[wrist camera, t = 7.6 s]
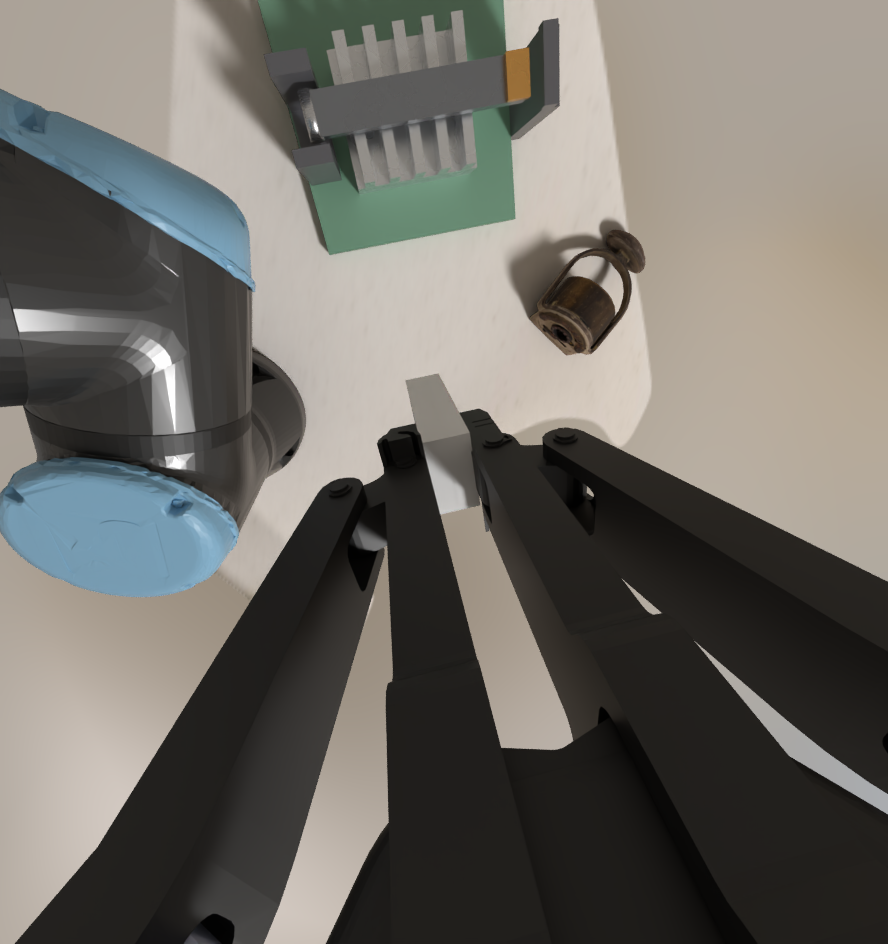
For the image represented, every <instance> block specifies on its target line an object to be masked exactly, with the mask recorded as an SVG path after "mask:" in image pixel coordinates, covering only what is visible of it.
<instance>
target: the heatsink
mask: <svg viewBox="0 0 888 944" xmlns="http://www.w3.org/2000/svg"><path fill="white" fill-rule="evenodd" d="M331 32H332V37H333V42H334V47H335V49H330V50H326V51H327V55H328V59H329V64H330V68H331V72H332V77H333V81H334V85H340V84H345V83H351V82H356V81H362V80H367V79H373V78H378V77H384V76H389V75H395V74H400V73H406V72H411V71H417V70H422V69H428V68H433V67H439V66H444V65H450V64H455V63H461V62H466V61H467V52H466V41H465V31H464V20H463V10H459V11H453V12H451V13H450V16H449V19H448V23H447V26H446V29H445V31H439V32H435V26H434V18H433V15H429V16H422V17H421V21H420V26H419V32H418V35H415V36H409V37H406V33H405V26H404V20H398V21H392V23H391V38H390V40H384V41H378V42H377V40H376V35H375V29H374V24H373V25H367V26H362V41H363V44H360V45H354V46H348V47H347V44H346V39H345V34H344V29H343V30H336V31H331ZM346 138H347V142H348V147H349V151H350V155H351V160H352V164H353V169H354V173H355V177H356V182H357V186H358V190H359V194H365V193H371V192H376V191H381V190H387V189H392V188H398V187H403V186H408V185H414V184H419V183H425V182H430V181H435V180H441V179H446V178H451V177H457V176H462V175H468V174H470V173H471V172H473V171H474V170H475V169H476V168H477V159H476V148H475V137H474V127H473V116H472V112H471V113H466V114H460V115H455V116H450V117H444V118H439V119H434V120H428V121H423V122H417V123H412V124H407V125H401V126H396V127H390V128H385V129H380V130H374V131H369V132H363V133H358V134H353V135H347V136H346Z"/></svg>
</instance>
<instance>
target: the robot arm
mask: <svg viewBox="0 0 888 944" xmlns="http://www.w3.org/2000/svg"><path fill="white" fill-rule="evenodd" d="M252 292H255V282H254V281H253V280H252V278H251V260H250V238H249V230H248V225H247V222H246V220H245V218H244V216H243V214H242V212H241V211H240V209H239V208H238V207H237V205H236V204H235V203H234V202H233V201H232V200H231V199H230V198H229V197H228V196H227V195H225V194H224V193H223V192H222V191H220V190H219V189H217V188H216V187H214V186H213V185H211V184H210V183H208V182H206V181H205V180H203V179H201V178H199V177H197V176H196V175H194V174H192V173H190V172H188V171H186V170H184V169H182V168H180V167H178V166H176V165H174V164H173V163H171V162H168V161H166V160H164V159H162V158H160V157H158V156H156V155H154V154H152V153H150V152H147V151H146V150H143V149H141V148H139V147H137V146H135V145H133V144H131V143H128V142H126V141H124V140H122V139H120V138H117V137H115V136H113V135H111V134H109V133H106V132H104V131H102V130H99V129H97V128H95V127H93V126H90V125H88V124H86V123H83V122H81V121H78V120H76V119H74V118H71V117H69V116H66V115H64V114H61V113H59V112H51V111H46V110H45V109H43V108H42V107H41V106H39V105H36V104H34V103H31V102H28V101H25V100H22V99H20V98H18V97H16V96H14V95H12V94H10V93H8V92H6V91H4V90H1V89H0V407H7V406H20V405H23V407H24V410H25V414H26V417H27V421H28V424H29V428H30V431H31V435H32V438H33V442H34V445H35V449H36V452H37V462H35V463H33V464H31V465H29V466H27V467H24V468H22V469H20V470H19V471H17V472H16V473H15V474H13V476H12V478H11V480H10V482H9V483H8V486H6V487H5V488H4V489H3V491H2V492H1V493H0V532H1V534H2V535H3V537H4V538H5V540H6V541H7V542H8V544H9V545H10V546H11V547H12V548H13V550H15V551H16V552H17V553H18V554H19V555H20V556H21V557H23V558H24V559H25V560H27V562H29V563H30V564H32V565H33V566H35V567H36V568H38V569H40V570H42V571H43V572H45V573H47V574H48V575H50V576H52V577H55V578H58V579H62V580H64V581H66V582H68V583H70V584H72V585H74V586H77V587H80V588H83V589H87V590H90V591H95V592H99V593H104V594H110V595H118V596H128V597H153V596H162V595H169V594H173V593H177V592H181V591H184V590H186V589H189V588H191V587H193V586H195V584H197V583H200V582H202V581H205V580H206V579H208V578H209V577H210V576H211V575H212V574H213V573H214V572H216V570H217V569H218V568H219V567H220V565H221V564H222V562H223V561H224V559H225V558H226V556H227V554H228V553H229V552H230V551H231V550H232V549H233V547H234V546H235V545H236V543H237V539H238V536H239V532H240V530H241V528H242V526H243V524H244V522H245V520H246V517H247V515H248V513H249V511H250V509H251V507H252V505H253V503H254V501H255V499H256V497H257V495H258V493H259V491H260V488H261V486H262V484H263V482H264V480H265V479H266V478H267V477H269V476H271V475H272V474H274V473H276V472H277V471H279V470H280V469H282V468H283V467H284V466H285V465H287V464H288V463H289V462H290V460H291V459H292V458H293V457H294V455H295V454H296V452H297V450H298V448H299V446H300V444H301V441H302V439H303V436H304V432H305V427H306V414H305V408H304V404H303V401H302V398H301V396H300V394H299V392H298V390H297V388H296V387H295V385H294V384H293V382H292V381H291V379H290V378H289V377H288V376H287V375H286V374H285V373H284V372H283V371H282V370H281V369H280V368H279V367H278V366H277V365H276V364H274V363H273V362H272V361H270V360H269V359H267V358H266V357H264V356H262V355H260V354H258V353H256V352H254V351H252ZM406 384H407V389H408V393H409V398H410V402H411V407H412V411H413V416H414V420H415V424H411V425H406V426H402V427H397V428H393V429H390V430H389V432H388V433H387V434H386V435H384V436H383V437H382V438H380V439H379V440H378V443H377V446H378V449H379V453H380V456H381V459H382V463H383V466H384V474H383V475H382V476H381V477H380V478H378V479H377V480H375V481H373V482H371V483H369V484H366V485H364V486H363V484H362V482H361V481H360V480H359V479H356V478H343V479H337V480H336V481H335V480H334V481H332V482H330V483H329V484H327V485H326V486H324V487H323V488H322V489H321V490H320V491H319V492H318V494H317V496H316V497H315V499H314V501H313V502H312V504H311V505H310V507H309V509H308V510H307V512H306V513H305V515H304V517H303V518H302V520H301V521H300V523H299V525H298V526H297V528H296V529H295V531H294V533H293V534H292V536H291V537H290V539H289V541H288V542H287V544H286V545H285V547H284V549H283V550H282V552H281V553H280V555H279V557H278V558H277V560H276V562H275V563H274V565H273V566H272V568H271V570H270V571H269V573H268V574H267V576H266V578H265V579H264V581H263V582H262V584H261V586H260V587H259V589H258V590H257V592H256V594H255V595H254V597H253V598H252V600H251V602H250V603H249V605H248V607H247V608H246V610H245V611H244V613H243V615H242V616H241V618H240V620H239V621H238V623H237V624H236V626H235V628H234V629H233V631H232V632H231V634H230V635H229V637H228V639H227V640H226V642H225V643H224V645H223V647H222V648H221V650H220V651H219V653H218V655H217V656H216V658H215V659H214V661H213V663H212V664H211V666H210V668H209V669H208V671H207V672H206V674H205V676H204V677H203V679H202V680H201V682H200V684H199V685H198V687H197V689H196V690H195V692H194V693H193V695H192V696H191V698H190V700H189V701H188V703H187V704H186V706H185V708H184V709H183V711H182V712H181V714H180V716H179V717H178V719H177V720H176V722H175V724H174V725H173V727H172V729H171V730H170V732H169V733H168V735H167V737H166V738H165V740H164V741H163V743H162V745H161V746H160V748H159V749H158V751H157V753H156V754H155V756H154V758H153V759H152V761H151V762H150V764H149V765H148V767H147V769H146V770H145V772H144V773H143V775H142V777H141V778H140V780H139V782H138V783H137V785H136V787H135V788H134V790H133V791H132V793H131V794H130V796H129V798H128V799H127V801H126V802H125V804H124V806H123V807H122V809H121V810H120V812H119V814H118V815H117V817H116V819H115V820H114V822H113V823H112V825H111V826H110V828H109V830H108V831H107V833H106V835H105V836H104V838H103V839H102V841H101V843H100V844H99V846H98V847H97V849H96V850H95V851H94V852H93V853H92V854H91V855H90V857H89V858H88V859H87V860H86V861H85V862H84V864H83V865H82V866H81V867H80V868H79V869H78V871H77V872H76V873H75V874H74V875H73V876H72V878H71V879H70V880H69V881H68V882H67V883H66V885H65V886H64V887H63V888H62V889H61V890H60V892H59V893H58V894H57V895H56V896H55V897H54V899H53V900H52V901H51V902H50V903H49V904H48V906H47V907H46V908H45V909H44V910H43V911H42V912H41V914H40V915H39V916H38V917H37V918H36V919H35V921H34V922H33V923H32V924H31V926H29V928H28V929H27V930H26V931H25V932H24V934H23V935H22V936H21V937H20V938H19V939H18V940H17V942H16V943H15V944H264V941H265V939H266V937H267V934H268V932H269V929H270V927H271V924H272V922H273V919H274V917H275V915H276V912H277V910H278V907H279V905H280V902H281V899H282V896H283V893H284V890H285V887H286V884H287V881H288V878H289V875H290V872H291V869H292V866H293V862H294V860H295V856H296V853H297V850H298V846H299V843H300V840H301V836H302V832H303V829H304V826H305V823H306V819H307V816H308V812H309V809H310V805H311V802H312V799H313V795H314V792H315V789H316V785H317V782H318V779H319V775H320V772H321V768H322V765H323V761H324V758H325V755H326V751H327V748H328V744H329V741H330V738H331V734H332V731H333V728H334V724H335V721H336V717H337V714H338V710H339V707H340V704H341V700H342V697H343V694H344V690H345V687H346V683H347V680H348V677H349V673H350V670H351V666H352V663H353V660H354V656H355V653H356V650H357V646H358V643H359V639H360V636H361V633H362V629H363V626H364V622H365V619H366V616H367V612H368V609H369V605H370V602H371V599H372V595H373V592H374V588H375V585H376V582H377V578H378V575H379V571H380V567H381V565H382V561H383V558H384V547H385V546H387V548H388V570H389V592H390V614H391V637H392V657H393V658H392V659H393V679H392V682H390V683H388V685H387V690H386V732H387V770H388V771H387V772H388V808H389V809H388V812H389V823H388V824H387V826H386V827H385V828H384V830H383V831H382V832H381V834H380V835H379V837H378V839H377V840H376V842H375V844H374V845H373V847H372V849H371V850H370V852H369V854H368V856H367V858H366V860H365V862H364V864H363V866H362V868H361V870H360V872H359V875H358V876H357V879H356V881H355V883H354V885H353V887H352V889H351V891H350V894H349V896H348V898H347V900H346V902H345V904H344V906H343V908H342V910H341V913H340V915H339V917H338V919H337V921H336V923H335V925H334V928H333V930H332V932H331V935H330V936H329V938H328V940H327V943H326V944H888V814H886V813H884V812H883V811H881V810H879V809H878V808H876V807H874V806H873V805H871V804H869V803H867V802H866V801H864V800H862V799H861V798H859V797H857V796H856V795H854V794H852V793H851V792H849V791H847V790H845V789H844V788H842V787H840V786H839V785H837V784H835V783H833V782H832V781H830V780H828V779H827V778H825V777H823V776H822V775H820V774H818V773H817V772H815V771H813V770H812V769H810V768H808V767H807V766H805V765H803V764H801V763H800V762H798V761H796V760H795V759H793V758H791V757H790V756H788V754H787V753H786V752H785V751H784V749H783V748H782V747H781V746H780V745H779V743H778V742H777V741H776V740H775V739H774V737H773V736H772V735H771V734H770V732H769V731H768V730H767V729H766V728H765V727H764V725H763V724H762V723H761V722H760V720H759V719H758V718H757V717H756V715H755V714H754V713H753V712H752V711H751V709H750V708H749V707H748V706H747V704H746V703H745V702H744V701H743V700H742V699H741V697H740V696H739V695H738V694H737V692H736V691H735V690H734V689H733V687H732V686H731V685H730V684H729V683H728V682H727V680H726V679H725V678H724V677H723V675H722V674H721V673H720V672H719V670H718V669H717V668H716V667H715V666H714V665H713V664H712V662H711V661H710V660H709V658H708V657H707V656H706V655H705V653H704V652H703V651H702V650H701V649H700V647H699V646H698V645H697V644H696V643H695V642H697V643H698V644H699V645H700V646H701V647H702V648H703V649H705V650H706V651H707V652H708V653H709V654H710V655H712V656H713V657H714V658H715V659H716V660H717V661H719V662H720V663H721V664H722V665H723V666H724V667H726V668H727V669H728V670H729V671H730V672H731V673H733V674H734V675H735V676H736V677H737V678H738V679H740V680H741V681H742V682H743V683H744V684H745V685H747V686H748V687H749V688H750V689H751V690H752V691H754V692H755V693H756V694H757V695H758V696H759V697H761V698H762V699H763V700H764V701H765V702H766V703H768V704H769V705H770V706H771V707H772V708H773V709H775V710H776V711H777V712H778V713H779V714H780V715H782V716H783V717H784V718H785V719H786V720H787V721H789V722H790V723H791V724H792V725H793V726H795V727H796V728H797V729H798V730H800V731H801V732H802V733H803V734H805V735H806V736H807V737H808V738H810V739H811V740H812V741H813V742H815V743H816V744H817V745H818V746H820V747H821V748H822V749H823V750H825V751H826V752H827V753H829V754H830V755H831V756H833V757H834V758H836V759H837V760H839V761H840V762H841V763H843V764H844V765H846V766H847V767H848V768H850V769H851V770H853V771H854V772H855V773H857V774H858V775H860V776H861V777H862V778H864V779H865V780H867V781H868V782H870V783H871V784H873V785H874V786H876V787H877V788H879V789H881V790H882V791H884V792H885V793H887V794H888V582H887V581H885V580H883V579H881V578H879V577H877V576H875V575H872V574H871V573H869V572H867V571H865V570H862V569H861V568H859V567H856V566H855V565H853V564H851V563H849V562H847V561H845V560H843V559H841V558H839V557H837V556H834V555H832V554H830V553H828V552H826V551H824V550H822V549H820V548H818V547H816V546H814V545H812V544H810V543H808V542H806V541H804V540H802V539H800V538H798V537H796V536H794V535H792V534H790V533H788V532H786V531H784V530H782V529H780V528H778V527H776V526H774V525H772V524H770V523H767V522H766V521H764V520H762V519H760V518H758V517H756V516H754V515H751V514H750V513H748V512H745V511H743V510H741V509H739V508H737V507H735V506H733V505H731V504H729V503H727V502H725V501H723V500H721V499H719V498H717V497H715V496H713V495H711V494H709V493H707V492H705V491H703V490H701V489H699V488H697V487H695V486H693V485H690V484H689V483H687V482H685V481H682V480H681V479H678V478H677V477H675V476H673V475H671V474H669V473H666V472H664V471H662V470H661V469H659V468H656V467H654V466H652V465H650V464H648V463H646V462H644V461H642V460H640V459H638V458H636V457H634V456H632V455H630V454H628V453H626V452H624V451H622V450H620V449H618V448H616V447H614V446H612V445H610V444H608V443H606V442H604V441H602V440H600V439H598V438H596V437H594V436H592V435H590V434H588V433H586V432H584V431H581V430H578V429H571V428H558V429H556V430H552V431H549V432H548V433H546V434H545V435H544V436H543V437H542V438H543V445H528V446H527V445H520V444H519V443H518V441H517V440H516V439H515V438H514V437H513V436H512V435H509V434H506V433H502V432H501V431H500V429H499V428H498V427H497V425H496V424H495V423H494V421H493V420H492V419H491V417H490V415H489V414H488V413H487V412H485V411H483V410H481V409H475V410H470V411H466V412H461V413H459V411H458V410H457V408H456V406H455V404H454V402H453V400H452V398H451V396H450V395H449V393H448V391H447V389H446V387H445V385H444V383H443V381H442V380H441V378H440V376H439V374H434V375H429V376H425V377H420V378H415V379H411V380H406ZM587 486H588V487H589V488H590V489H591V491H592V492H593V494H594V497H592V496H590V495H589V494H587ZM479 496H480V498H481V501H482V507H483V514H484V521H485V529H486V532H487V531H489V529H490V531H491V533H492V536H493V538H494V541H495V543H496V545H497V548H498V550H499V553H500V555H501V558H502V560H503V563H504V565H505V567H506V570H507V572H508V574H509V577H510V579H511V582H512V584H513V587H514V589H515V592H516V594H517V596H518V599H519V601H520V604H521V606H522V608H523V611H524V613H525V616H526V618H527V621H528V623H529V625H530V628H531V630H532V633H533V635H534V637H535V640H536V642H537V645H538V647H539V650H540V652H541V655H542V657H543V659H544V662H545V664H546V667H547V669H548V671H549V674H550V676H551V679H552V681H553V683H554V686H555V688H556V691H557V693H558V696H559V698H560V700H561V703H562V705H563V708H564V710H565V713H566V716H567V718H568V722H569V725H570V728H571V733H572V737H573V742H572V743H570V744H568V745H567V746H565V747H564V748H562V749H558V750H540V749H514V748H501V746H500V742H499V738H498V734H497V730H496V726H495V722H494V719H493V715H492V711H491V707H490V703H489V699H488V695H487V691H486V688H485V684H484V680H483V676H482V672H481V668H480V665H479V662H478V660H477V657H476V653H475V649H474V646H473V641H472V638H471V634H470V630H469V626H468V622H467V618H466V614H465V610H464V606H463V602H462V599H461V594H460V591H459V587H458V583H457V579H456V575H455V571H454V567H453V563H452V559H451V556H450V551H449V547H448V543H447V539H446V535H445V531H444V528H443V524H442V520H441V516H440V514H444V513H449V512H453V511H457V510H462V509H466V508H470V507H475V506H479V505H480V501H479ZM622 579H623V580H624V581H625V582H627V583H628V584H629V585H630V586H631V587H632V588H634V589H635V590H636V591H637V592H638V593H639V594H641V595H642V596H643V597H644V598H645V599H646V600H648V601H649V602H650V603H651V604H652V605H653V606H655V607H656V608H657V609H658V610H659V611H660V612H662V613H661V614H655V615H652V614H650V613H649V612H647V610H645V608H644V607H643V606H642V605H641V604H640V602H639V601H638V600H637V598H636V597H635V596H634V594H633V593H632V592H631V590H630V589H629V588H628V586H627V585H626V584H625V582H624V581H623V580H622ZM694 641H695V642H694Z"/></svg>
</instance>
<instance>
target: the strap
mask: <svg viewBox="0 0 888 944" xmlns="http://www.w3.org/2000/svg"><path fill="white" fill-rule="evenodd" d="M298 96H299V100H300V103H301V107H302V111H303V115H304V118H305V122H306V126H307V130H308V133H309V137H310V141H311V143H321V142H324V141H325V140H326V139H331V138H337V137H342V136H347V135H353V134H358V133H363V132H369V131H374V130H380V129H385V128H390V127H396V126H401V125H407V124H412V123H417V122H423V121H428V120H434V119H439V118H444V117H450V116H455V115H460V114H466V113H471V112H477V111H482V110H487V109H493V108H498V107H504V106H509V105H514V104H520V103H523V102H524V101H525V100H526V99H529V98H530V97H531V88H530V58H529V47H528V48H523V49H517V50H512V51H506V52H505V54H504V55H499V56H494V57H488V58H483V59H477V60H472V61H466V62H461V63H455V64H450V65H444V66H439V67H433V68H428V69H422V70H417V71H411V72H406V73H400V74H395V75H389V76H384V77H378V78H373V79H367V80H362V81H356V82H351V83H345V84H340V85H334V86H329V87H323V88H318V89H311V88H303V89H300V90H298Z"/></svg>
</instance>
